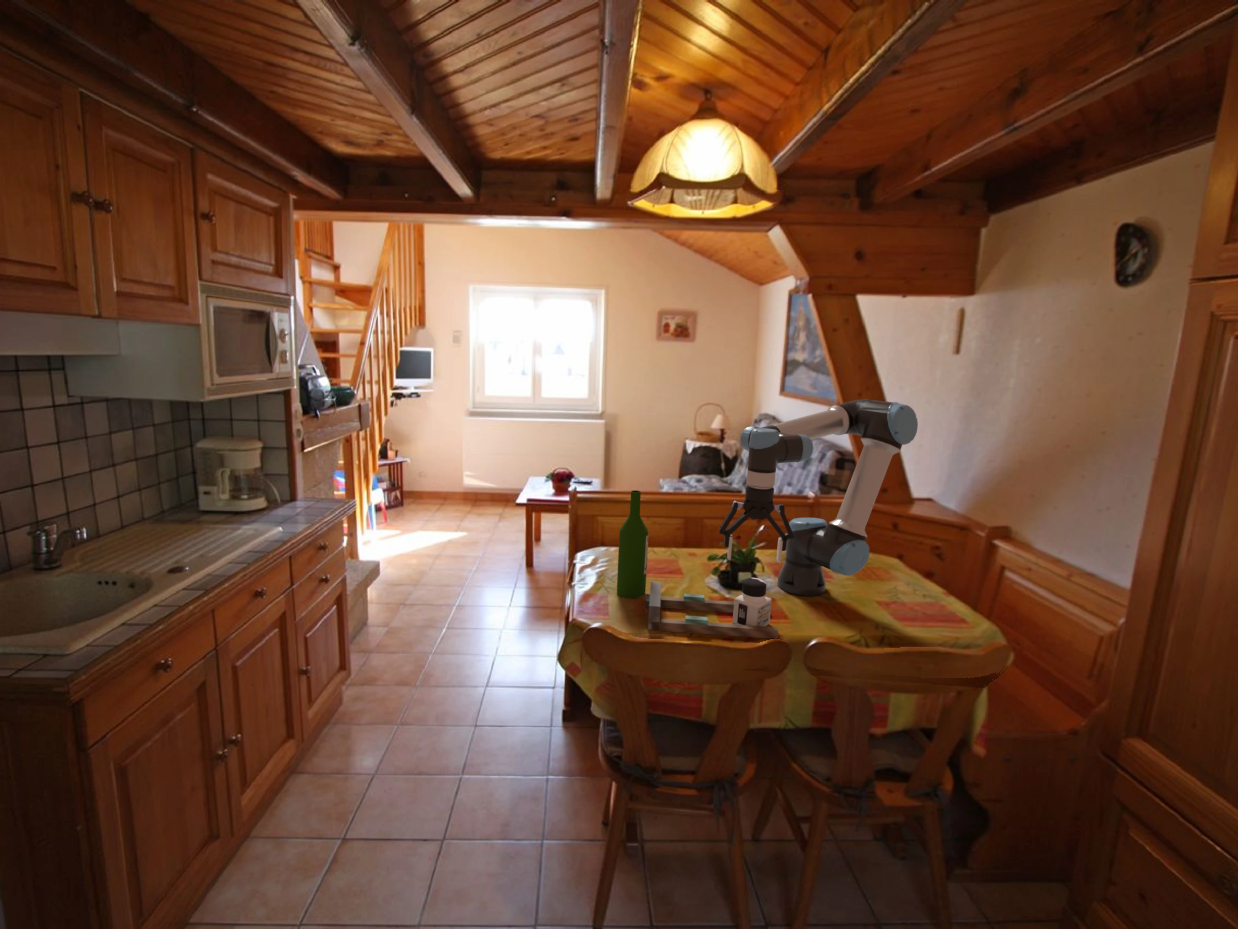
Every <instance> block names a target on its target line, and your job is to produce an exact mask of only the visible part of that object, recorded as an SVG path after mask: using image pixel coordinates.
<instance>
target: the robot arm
mask: <svg viewBox="0 0 1238 929" xmlns="http://www.w3.org/2000/svg"><path fill="white" fill-rule="evenodd" d="M918 425H919V424H918V418H917V413H916V412H915V410H914V409H913V407H911V406H909V405H907V404H904V403H899V402H896V401H895V402H892V401H884V400H878V399H877V400H875V399H868V398H863V399H856V400H851V401H846V402H843V403H839V404H834V405H831V406H829V407H828V409H827V410H825V411H820V412H817V413H813V414H809V415H806V416H802V417H798V418H793V419H790V420H785V421H783V422H782V421H781V422H778V423H775V424H771V425H766V426H762V427H758V426H747V427H745V428H744V429H743V430H742V431H741V433H740V438H739V444H740V446H741V447H742V449H743V450H745V451H747V452H748V457H747V458H748V460H747V469H746V470H747V472H746V481H745V482H746V484H747V485H746V486H745V494H744V501H743V502H740V501H737V500H733V502H732V504H731V508H730V510H729V511H728V512H727V515H726V517H725V518H724V520H723V521H722V523H721V524H720V526H719V528H718V533H719V534H720V535H723V536H724V542H723V544H724V548H727V553H726V556H727V560H728V561H731V560H732V559H731V558H732V548H733V539H734V538H733V533H735V531H737V530H738V528H740V526H741V525H743V524H744V523H745V522H746V521H747V520H748V519H751V520H760V521H764V520H766V519H767V520H768V522H769V523H770V524H771V526H772V527H773V528H774V530H775V531H776V533H778V535H779V536H780V537H778V539H777V547H776V548H777V549H776V557H775V558H776V563H777V564H781V561H782V553H783V552H785V556H784V563H783V565H782V567H781V569H780V571H779V574H778V576H777V581H776V584H777V586H778V588H780V589H781V590H783V591H785V592H787V593H790V594H792V595H793V594H794V595H797V596H803V597H804V596H805V597H808V596H809V597H812V596H813V597H815V596H819V595H822V594H824V593H825V592H826V584H827V583H826V580H825V576H824V572H823V568H826V569H827V570H830V571H832V572H833V573H836V574H840V575H843V576H847V577H850V576H854V575H856V574H857V573H859V572H860V571H862V569H863V568H864V567H865V566H866V564H867V562H868V561H869V558H870V553H871V552H870V546H869V544H868V543H867V539H868V535H867V533H866V530H865V529H866V526H867V523H868V521H869V519H870V516H871V513H872V510H873V509H874V505H875V504H876V503H875V502H876V499H877V497H878V495H879V492H880V490H881V486H882V484H883V481H884V479H885V476H886V474H887V470H888V468H889V466H890V463H891V460H892V458H893V456H894V455H896V454H898V453H901V450H902V447H903V446H906V445H908V444H910V443H911V442H912V441H913V440H914V439H915V437H916V435H917V432H918V427H919V426H918ZM830 435H835V436H843V435H856V436H861V438H860V440H861V442H862V445H863V447H862V450H861V453H860V454H859V457H858V460H857V463H856V466H855V468H854V471H853V473H852V476H851V479H850V482H849V484H848V487H847V490H846V492H845V495H844V498H843V499H842V503H841V505H840V507H839V510H838V513H837V516H836V517H835V519H834V520H831V521H829V522H828V524H827V520H825V519H822V518H817V517H797V518H793V519H791V520H790V521H788V518H787V515H786V512H785V511H786V510H785V509H786V508H785V505H784V504H783V503H782V502H780V503H778V504H774V494H775V488H774V487H775V484H776V471H777V466H778V465H777V464H787V463H800V462H806V461H808V460H809V459H810V458H812V455H813V452H814V444H813V441H812V440H817V439H820V438H824V437H826V436H827V437H828V436H830ZM741 508H743V510H744V511H743V512H742V514H741V515H740V516H739V517H738V518H737V519H736V520H735V521H734V522H733V523H732V524H730V523H731V521H732V520H733V518H734V517H735V515H736V514H737V511H740V510H741ZM774 510H776V512H777V513H778V514H779V516H780V518H781V520H782V523H783V525H784V528H785V530H786V533H785V532H784V531H783V529H782V528H781V527H780V526H779V524H778V522H777V521H776V520H775V519H774V517H773V516H772V514H771V513H772V512H773V511H774ZM729 525H730V526H729ZM728 526H729V527H728Z"/></svg>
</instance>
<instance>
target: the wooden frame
mask: <svg viewBox="0 0 1238 929" xmlns="http://www.w3.org/2000/svg"><path fill="white" fill-rule="evenodd" d="M661 583H662V582H660V581H658V582H657V581H656V582H655V581H651V582H650V590H649V593H645V601H644V602H645V603H644V610H648V620H647V621H648V622H647V630H648V631H659V632H671V633H672V632H673V633H674V632H675V633H687V634H702V635H712V636H713V635H715V636H730V637H740V638H741V637H742V638H755V639H756V638H758V639H770V638H779V628H778V627H777V626H767V625H766V626H752V625H738V624H734V623H723V622H708V621H709V620H708V617H707V616H695V615H693V616H692V615H685V617H684V620H683V619H681V620H680V619H666V618H665V619H664V618H661V617H660V616H661V608H663V609H664V608H665V609H679V610H688V611H689V610H691V611H692V610H693V611H703V612H704V611H705V612H706V611H707V612H720V613H721V612H722V613H733V612H734V601H728V600H727V601H726V600H712V599H705V598H706V597H705V595H704V594H696V593H695V594H693V593H692V594H691V593H683V597H670V596H662V594H661V593H662V592H661V591H662V590H661V588H662V587H661V586H662V584H661ZM770 640H771V639H770Z"/></svg>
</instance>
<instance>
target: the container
mask: <svg viewBox="0 0 1238 929" xmlns="http://www.w3.org/2000/svg"><path fill="white" fill-rule="evenodd" d="M741 587H742V588H741V594H740V595H738V596H736V597H735V598H734V600H733V602H734V612H733V614H732V624H738V625H752V626H766V627H767V626H768V625H770V623H771V614H772V613H771V610H772V598H770V597H768V596H767V583H766V581H765V580H762V579H761V578H756V577H747V578H744V579H743V581H742V586H741Z"/></svg>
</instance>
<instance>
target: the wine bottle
mask: <svg viewBox="0 0 1238 929" xmlns="http://www.w3.org/2000/svg"><path fill="white" fill-rule="evenodd" d="M641 494H642V493H641V491H640V490H631V491H630V504H629V515H628V517H627V518H626V520H625V521H624V523H623V524H622V526H621V527H620V529H619V534H618V535H619V536H618V556H617V557H618V558H617V560H618V561H617V578H616V579H617V582H616V593H617V594H618V595H619V596H620V597H621V598H622V597H623V598H626V599H638V598H642V597H643V596H645V595H646V586H647V573H648V572H647V571H648V569H647V567H648V551H649V530H648V528H647V526H646V524H645V522H644V521H643V519H642V517H641V498H642V497H641Z"/></svg>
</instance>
